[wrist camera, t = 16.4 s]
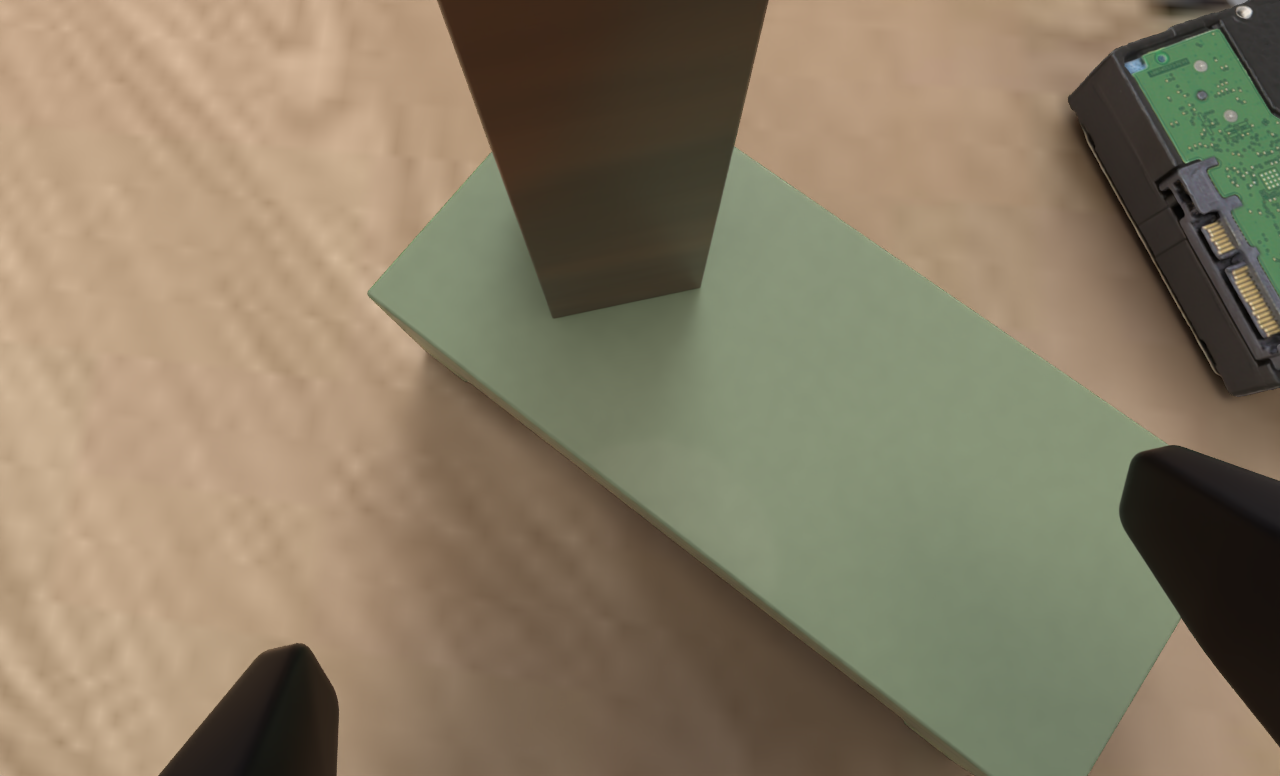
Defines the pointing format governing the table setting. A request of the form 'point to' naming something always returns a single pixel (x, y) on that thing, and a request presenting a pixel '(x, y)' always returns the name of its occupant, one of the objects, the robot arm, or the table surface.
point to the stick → (610, 132)
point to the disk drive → (1202, 175)
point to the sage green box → (833, 460)
